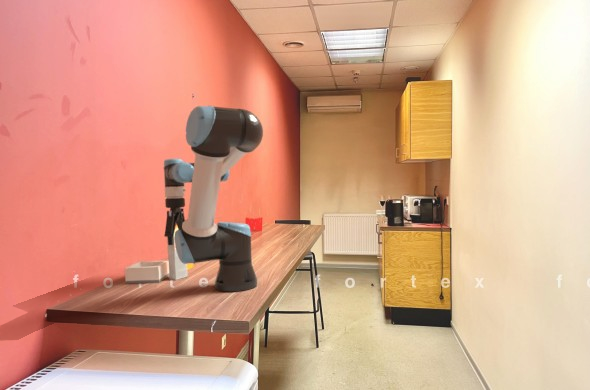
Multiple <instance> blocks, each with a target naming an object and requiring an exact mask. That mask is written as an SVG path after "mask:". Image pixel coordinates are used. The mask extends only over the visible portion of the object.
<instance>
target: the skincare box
mask: <svg viewBox="0 0 590 390" xmlns="http://www.w3.org/2000/svg"><path fill="white" fill-rule="evenodd" d="M167 255H168V260H167V261H169V276H168V277H169V280H174V281H177V280H181V279H184V278H188V277H189V276H188V275H189V273H188V270H187V264H184V263H182V262H181V261H180V259H179V257H178V254H177V251H176V248H175V253H168V252H167Z"/></svg>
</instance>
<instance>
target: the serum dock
mask: <svg viewBox="0 0 590 390" xmlns="http://www.w3.org/2000/svg"><path fill="white" fill-rule="evenodd" d="M124 273H125V275H124V276H125V277H124V278H125V284H153V283H161V282H162V281H163V280H165V279H166V278H167V277H169V260H148V261H147V260H144V261H143V260H141V261H136V262H134V263H133V264H130V265H129V266H126V267H125V268H124Z"/></svg>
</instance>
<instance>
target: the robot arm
mask: <svg viewBox="0 0 590 390" xmlns="http://www.w3.org/2000/svg"><path fill="white" fill-rule="evenodd" d="M263 128H264V127H263V124H262V123H261V120H260V119H259V118H258V116H257V115H255V113H253V112H252V111H250V110H247V109H244V108H231V107H224V106H223V107H221V106H212V105H202V106H201V105H198V106H196V107H194V108H193V109H192V110H191V111H190V114H189V115H188V118H187V122H186V124H185V140H186V143H187V145H189V146H190V150H191V152H192V153H193V154H194V156H195V157H194V162H186V161H185V162H184V160H183V159H180V158H168V159H165V160H164V161H163V175H164V197H165V199H164V201H165V203H164V205H165V208H167V209H169V210H166V221H165V229H164V236H163V237H165V238H166V242H167V245H166V246H167V254H168V253H175V246H176V251H177V254H178V257H179V259H180V261H181V262H182V263H184V264H190V263H193V265H195V264H197V263H204V262H212V261H218V263H219V267H218V270H217V274H216V277H215V280H214V286H215V289H216V290H217V291H220V292H221V291H222V292H240V291H247V290H250V289H254V288H256V287H257V286H258V278H257V275H256V271H255V269H254V266H253V258H252V233H251V232H252V231H251V227H250V225H249V224H247V223H241V222H230V221H229V222H227V221H218V222H217V223H215V218H216V217H215V216H216V212H217V211H216V210H217V204H218V198H219V191H220V185H221V183H222V182H227V181H228V180H229V177H230V170H231V169H232V168H233V167H234V166H235V165H236V164H237V163H238V162H239V161H240V160H241V159H242V158H243V157H244V156H245V155H246V154H249V153H252V152H254V151H255V150H256V149H257V148H258V147H259V146H260V145H261V142H262V141H263V137H264V129H263ZM186 183H191V188H190V197H189V204H188V211H187V219H185V211H184V207H186V199H185V192H186V188H185V184H186ZM176 225H177V227H178V230H176V231H175V227H176ZM174 232H175V236H174Z"/></svg>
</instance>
